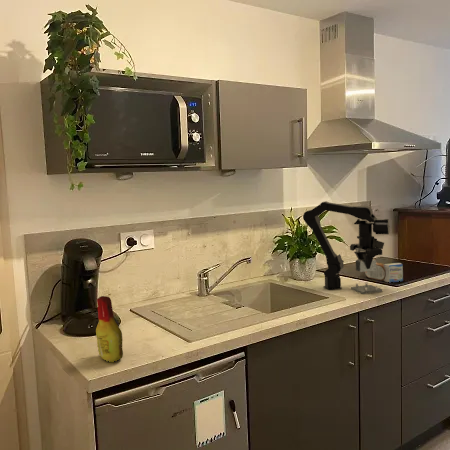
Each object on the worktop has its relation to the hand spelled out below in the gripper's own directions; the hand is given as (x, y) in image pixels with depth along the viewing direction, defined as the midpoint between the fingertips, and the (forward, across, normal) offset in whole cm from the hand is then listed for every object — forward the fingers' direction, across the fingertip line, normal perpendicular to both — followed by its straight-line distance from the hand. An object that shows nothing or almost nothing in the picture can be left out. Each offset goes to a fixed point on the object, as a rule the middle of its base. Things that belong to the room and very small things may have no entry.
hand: (365, 268), depth 213 cm
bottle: (+11, -44, +114) cm, 123 cm away
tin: (+11, +18, -16) cm, 26 cm away
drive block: (+1, 0, 0) cm, 1 cm away
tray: (+10, 0, 0) cm, 10 cm away
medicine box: (+10, +10, -21) cm, 25 cm away
